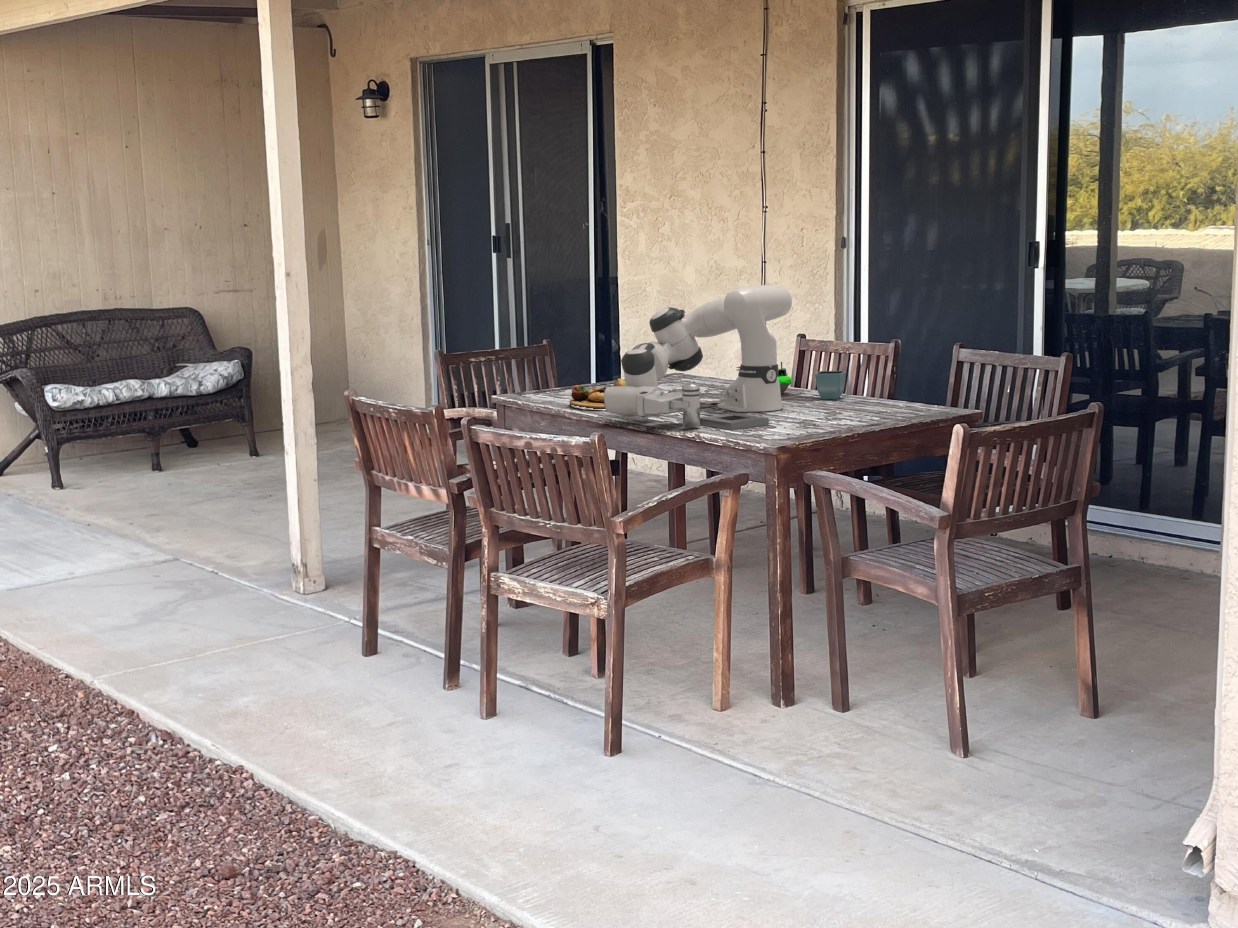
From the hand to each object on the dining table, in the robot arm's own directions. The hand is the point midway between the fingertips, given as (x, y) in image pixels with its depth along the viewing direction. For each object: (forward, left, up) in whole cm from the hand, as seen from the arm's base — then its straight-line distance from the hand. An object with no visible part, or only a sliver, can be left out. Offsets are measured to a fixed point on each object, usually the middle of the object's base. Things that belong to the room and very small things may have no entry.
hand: (693, 403), depth 400 cm
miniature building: (-44, +68, -8) cm, 81 cm away
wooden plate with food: (-63, +15, -8) cm, 65 cm away
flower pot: (-20, +72, -8) cm, 75 cm away
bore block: (+2, +13, -7) cm, 15 cm away
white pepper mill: (-1, 0, -7) cm, 7 cm away
